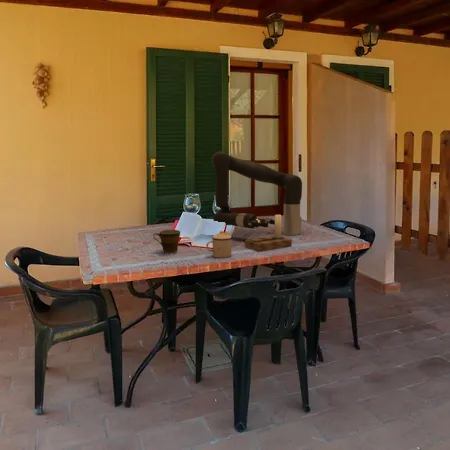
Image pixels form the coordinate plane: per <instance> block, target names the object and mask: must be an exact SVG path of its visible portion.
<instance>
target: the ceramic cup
mask: <svg viewBox="0 0 450 450" xmlns="http://www.w3.org/2000/svg"><path fill="white" fill-rule="evenodd" d="M156 235H157V236H158V237H159V238H160V241H159V239H157V238H155V236H156ZM152 237H153V239H154V240H155V241H157V242H158V243H159V244H160V245H161V247H162V251H163V254H166V253H173V254H177V253H178V249H179V242H180V237H181V231H180V230H178V229H165V230H160V231H159V232H158V233H157V232H156V233H154V234H153V236H152ZM176 252H177V253H176Z"/></svg>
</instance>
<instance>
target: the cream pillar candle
mask: <svg viewBox="0 0 450 450" xmlns="http://www.w3.org/2000/svg"><path fill="white" fill-rule="evenodd" d="M274 220H275V225H274V235H271V236H272V238H276V239H280V238H285V237H284V236H282V215H281V214H275V215H274Z"/></svg>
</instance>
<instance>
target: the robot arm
mask: <svg viewBox="0 0 450 450" xmlns="http://www.w3.org/2000/svg"><path fill="white" fill-rule="evenodd" d="M211 163H212V166H213V167H214V169H215V177H216V178H215V179H216V180H215V181H216V182H215V194H214V195H215V197H214V198H215V199H214V200H215V207H217V208H219V209H220V211H218V212H216V213H214V215H213V217H212V220H213V222H214V221H218V222H225V223H226V224H227V225H226V226H233V227H240V228H244V229H252V230H253V229H255V228H269V225H274V226H275V219H273V218H269V217H268V218H267V217H257V215H256V214H253V213H245V212H243V213H239V212H232V211H231V209H230V205H229V185H228V179H229V178H228V177H229V171H231V172H235V173H236V174H239V175H241V176H243V177H246V178H249V180H250V179H251V180H254V181H257V182H260V183H265V184H272V185H275V186H278V187H280V188H283V189H285V193H284V194H285V195H284V198H283V223H282V224H283V227H282V228H283V229H282V231H283V235H287V236H297V235H301V234H302V216H301V200H302V195H303V181H302V178H301V177H300V176H298V175H296V174H291V173H286V172H285V173H284V172H281V171H278V170H275V169H273V168H271V167H269V166H267V165H264V164H261V163H259V162H256V161H251V160H246V159H240V158H237V157H234V156H232V155H230V154H228V153H227V152H224V151H220V150H219V151H217V152H215V153H213V155H212V157H211Z"/></svg>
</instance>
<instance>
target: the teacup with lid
mask: <svg viewBox="0 0 450 450" xmlns="http://www.w3.org/2000/svg"><path fill="white" fill-rule="evenodd" d="M211 238H212V240H209V241H207V242H206V243H205V244H206V246H205V247H206V249H207V250H208V251H209V252H210V253H211V252H212V256H213V257H215V258H218V259H222V258H223V259H224V258H229V257H231V256H232V238H233V237H232V235H230V234H227V233H226V232H225V231H224V230H220V231H219V233H216V234H214V235H212V237H211ZM209 244H212V249H210V248H209Z"/></svg>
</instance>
